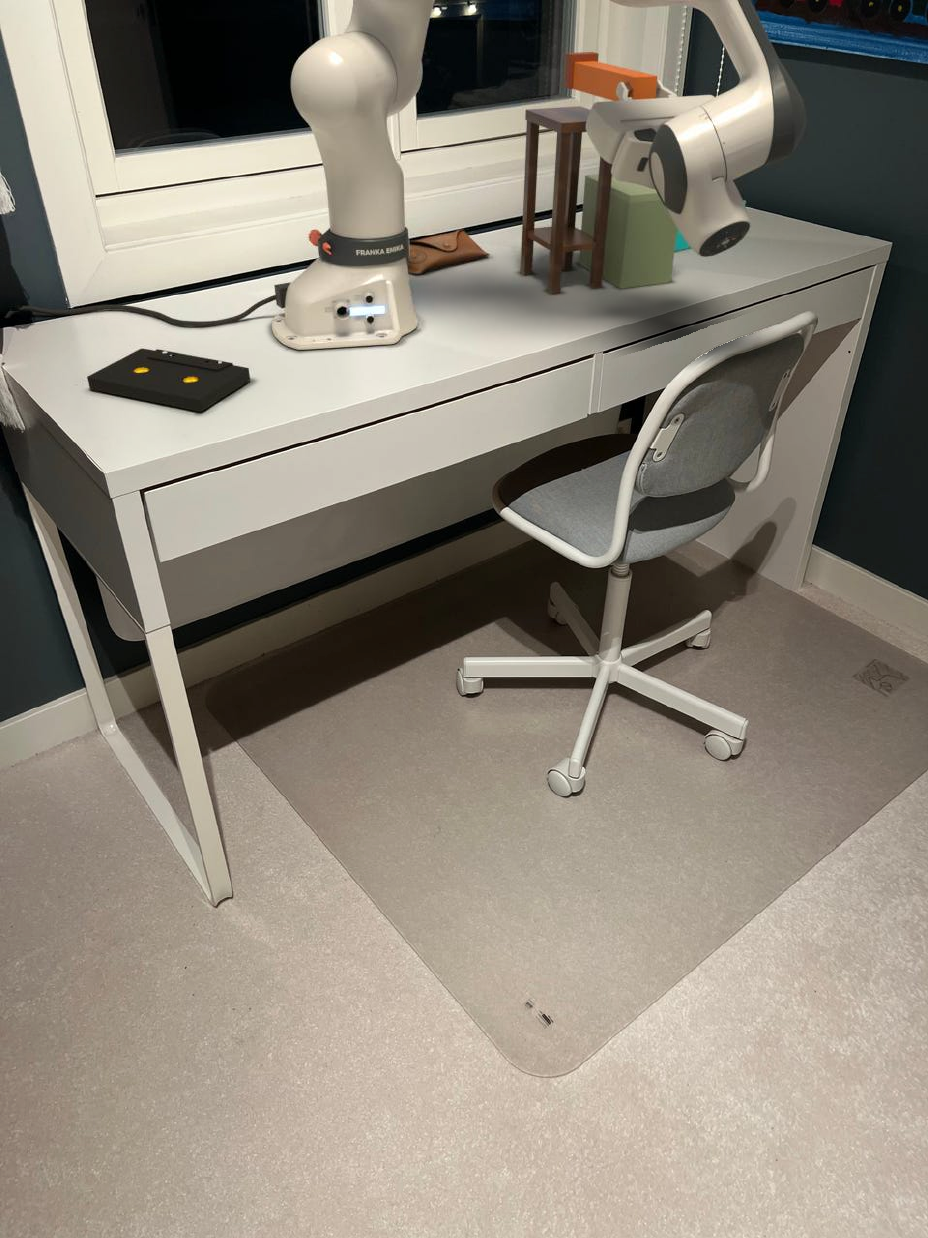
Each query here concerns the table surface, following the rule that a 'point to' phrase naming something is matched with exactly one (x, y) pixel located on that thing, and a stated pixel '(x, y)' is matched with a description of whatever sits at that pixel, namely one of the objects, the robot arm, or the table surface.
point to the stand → (563, 197)
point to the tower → (605, 77)
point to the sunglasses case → (442, 252)
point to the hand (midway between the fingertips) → (636, 85)
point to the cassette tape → (170, 378)
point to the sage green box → (631, 234)
